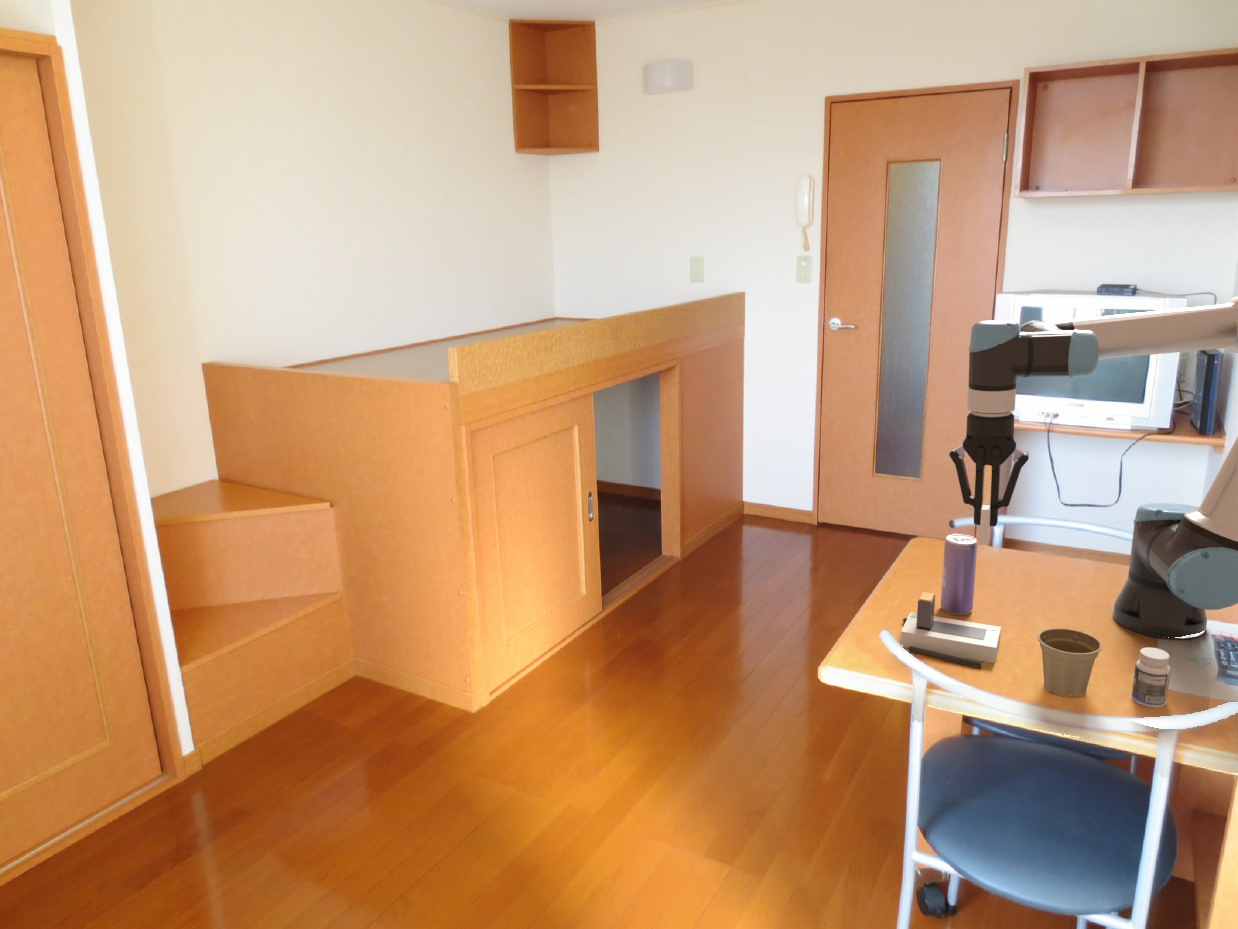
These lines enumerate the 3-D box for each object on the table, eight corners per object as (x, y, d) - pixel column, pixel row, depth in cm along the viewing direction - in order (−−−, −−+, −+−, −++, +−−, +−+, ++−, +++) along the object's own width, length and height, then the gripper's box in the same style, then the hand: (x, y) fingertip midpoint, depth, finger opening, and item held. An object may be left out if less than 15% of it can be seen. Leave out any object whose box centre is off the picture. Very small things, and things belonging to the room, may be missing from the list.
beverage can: (974, 617, 172) (980, 544, 169) (942, 615, 174) (947, 543, 170) (969, 604, 178) (974, 534, 174) (938, 603, 179) (942, 533, 176)
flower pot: (1028, 693, 144) (1032, 645, 142) (1038, 669, 152) (1042, 623, 150) (1092, 708, 139) (1098, 659, 137) (1099, 683, 147) (1105, 635, 144)
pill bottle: (1138, 690, 144) (1144, 643, 142) (1170, 701, 141) (1177, 653, 138) (1126, 700, 141) (1132, 652, 139) (1158, 712, 138) (1165, 663, 136)
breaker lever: (933, 619, 164) (935, 593, 163) (930, 628, 161) (931, 601, 159) (920, 617, 165) (921, 591, 164) (916, 626, 162) (918, 599, 160)
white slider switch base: (999, 642, 162) (1001, 626, 161) (994, 663, 154) (996, 647, 154) (909, 626, 169) (910, 612, 168) (900, 646, 162) (901, 631, 161)
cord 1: (981, 666, 153) (981, 661, 153) (980, 669, 153) (980, 663, 152) (908, 650, 160) (908, 645, 160) (906, 652, 159) (907, 647, 159)
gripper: (1033, 409, 152) (1025, 539, 157) (952, 406, 157) (948, 532, 163) (1031, 418, 145) (1023, 553, 151) (947, 415, 151) (943, 545, 157)
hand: (984, 542), depth 157 cm, fingers closed
